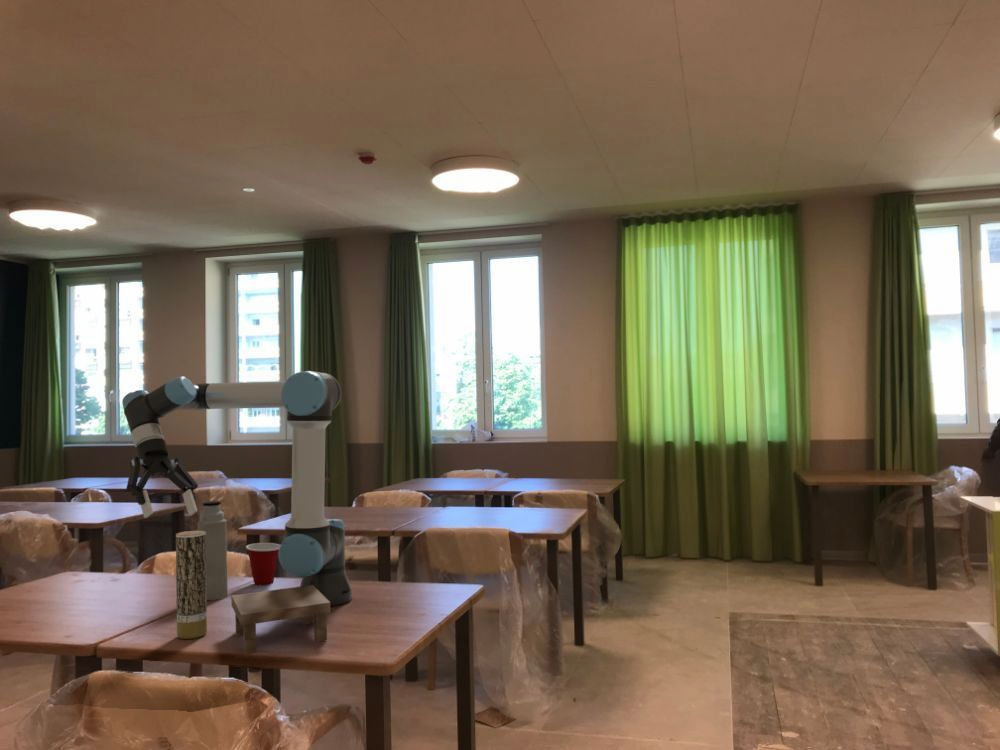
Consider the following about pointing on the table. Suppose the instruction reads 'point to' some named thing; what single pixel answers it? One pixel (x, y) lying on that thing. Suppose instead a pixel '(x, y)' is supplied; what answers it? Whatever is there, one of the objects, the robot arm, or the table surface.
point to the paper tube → (191, 584)
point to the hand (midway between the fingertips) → (171, 514)
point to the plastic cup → (263, 562)
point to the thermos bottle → (215, 549)
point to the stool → (279, 611)
